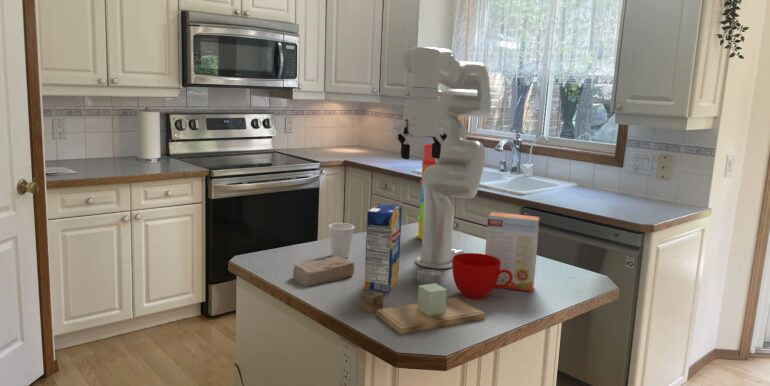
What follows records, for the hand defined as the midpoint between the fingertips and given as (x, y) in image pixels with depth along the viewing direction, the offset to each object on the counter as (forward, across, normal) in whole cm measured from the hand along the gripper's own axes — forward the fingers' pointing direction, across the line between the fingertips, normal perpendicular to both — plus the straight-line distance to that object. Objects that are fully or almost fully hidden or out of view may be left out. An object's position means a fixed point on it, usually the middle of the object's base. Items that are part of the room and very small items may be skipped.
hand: (420, 158), depth 166 cm
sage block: (+35, +8, +22) cm, 41 cm away
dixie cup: (+36, +7, -34) cm, 50 cm away
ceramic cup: (+36, -13, +14) cm, 41 cm away
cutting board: (+36, +8, +22) cm, 43 cm away
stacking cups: (+36, -34, -44) cm, 67 cm away
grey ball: (+36, -6, -1) cm, 37 cm away
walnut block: (+36, +19, +11) cm, 43 cm away
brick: (+37, +20, -16) cm, 45 cm away
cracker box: (+36, -26, +10) cm, 46 cm away
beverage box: (+36, +8, -4) cm, 38 cm away
